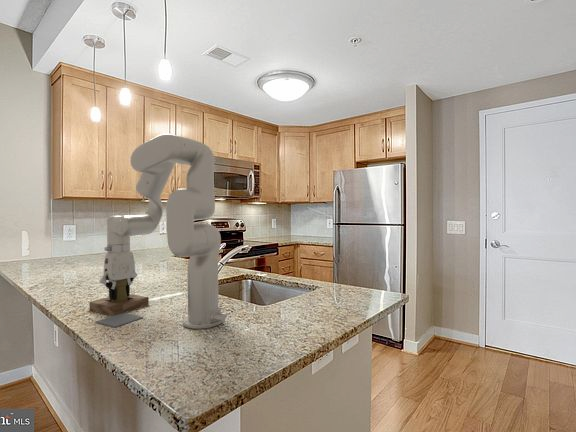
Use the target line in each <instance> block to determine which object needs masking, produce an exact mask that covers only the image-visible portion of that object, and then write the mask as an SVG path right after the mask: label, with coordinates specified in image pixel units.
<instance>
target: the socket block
mask: <svg viewBox="0 0 576 432" xmlns="http://www.w3.org/2000/svg"><path fill="white" fill-rule="evenodd" d="M129 294H130V296H128V297H127V298H128V300H127V301H123V302H120V303H113V302H112V300H111V299H110V298H109V296H108V297H107V296H106V297H103V298H100V299H96V300H91V301H89V305H88V306H89V311H90V312H95V313H100V314H104V315H109V316H111V317H112V316H115V315H118V314H121V313H128V312H130V311H131V312H132V311H133V310H137V309H141V308H144V307H147V306H149V304H150V303H149V297H148V296H145V295H144V296H143V295H137V294H132V293H129Z"/></svg>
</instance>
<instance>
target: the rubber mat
mask: <svg viewBox="0 0 576 432" xmlns="http://www.w3.org/2000/svg"><path fill="white" fill-rule="evenodd" d="M142 319H144V316H140V315H136V314H133V313H132V314H131V313H128V312H125V313H121V314H118V315H115V316H112V315H111V316H109V317H106V318H102V319H99V320H96V321H95V324H99V325H102V326H105V327H111V328H119V327H122V326H124V325H127V324H131V323H134V322H136V321H139V320H142Z"/></svg>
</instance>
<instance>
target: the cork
mask: <svg viewBox="0 0 576 432" xmlns="http://www.w3.org/2000/svg"><path fill="white" fill-rule="evenodd" d="M126 285H127V279H124V280H119V281H116V285H115V289H116V290H117V299H116V300H112V302H113V303H120V302H123V301H127V300H128V298H127V292H126Z"/></svg>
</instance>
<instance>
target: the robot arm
mask: <svg viewBox="0 0 576 432" xmlns="http://www.w3.org/2000/svg"><path fill="white" fill-rule="evenodd" d="M130 155H131V156H130V166H131V167H132V170H134V171H136V172H139V173H141V174H140V176H139V178H138V181H137V183H136V185H135V190H136V192H137V193H138V194H139V195H140V196H142V197H144V198H145V199H147V200H148V207H147V210H146V211H145V214H126V215H110V216H108V217H107V219H106V240H107V241H106V242H107V243H106V246H105V247H104V248H103V250H104V251H106V252H107V253H105V256H104V261H103V275H102V276H101V278H100V280H99V284H102V285H103V286H105V288H107V289H108V297H109V298H110V299H111V300H116V299H117V290H116V289H115V285H116V281H119V280H124V279H127V285H126V292H127V297H128V296H130V294H131V291H130V290H131V287H130V286H131V285H132V283H133V281H134V280H135V278H137V276H138V273H137V272H136V262H135V256H134V253H133V251H131V237H133V236H134V237H135V236H146V235H150V234H152V233H153V232H155V231H156V229H157V228H158V226H159V224H160V222H161V219H162V217H163V213H164V212H163V211H164V210H163V209H164V208H163V202H162V198H161V196H162V193H163V191H164V189H165V186H166V185H167V182H168V180H169V178H170V176H171V174H172V172H173V169H174V167H175V164H180V165H187V166H190V167H189V169H187V170H188V171H187V173H186V179H185V180H186V181H185V182H186V187H185V188H177V189H175V190H173V191H172V192H171V193H170V194H169V196H168V197H167V201H166V206H165V211H166V212H165V214H166V215H165V217H166V237H167V238H166V239H167V245H168V248H169V250H170V252H171V253H172V255H173V256H175V257H177V258H187V257H189V260H188V263H187V316H186V317H185V318H183V320H182V324H183V326H184V327H186V328H188V329H195V330H196V329H198V330H199V329H200V330H202V329H210V328H213V327H217V326H219V325H221V324H222V323H224V322H225V321H226V319H227V318H228V314H227V313H224V312H222V307H219V256H220V250H221V244H222V243H221V242H222V237H221V233H220V230H219V229H218V228H217V227H216V226H215V225H213V224H210V223H195V221H199V220H200V221H201V220H205V219H206V220H207V219H209V218H211V217H212V216H213V215H214V213H215V209H216V200H215V194H216V193H215V180H214V179H215V177H214V174H215V173H214V171H215V156H214V153H213V151H212V149H211V148H210V147H209V146H208V145H207V144H205V143H203V142H200V141H198V140H196V139H191V138H189V137H186V136H185V137H184V136H180V135H178V134H177V135H176V134H173V133H162V134H158V135H157V136H155V137H153V138H151V139H149V140H147V141H145V142H143V143H141V144H139V145H137V147H136V148H134V149H133V151H132V153H131V154H130Z"/></svg>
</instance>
